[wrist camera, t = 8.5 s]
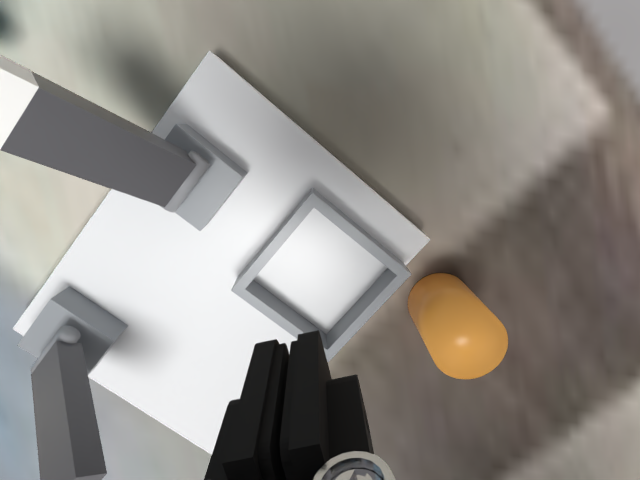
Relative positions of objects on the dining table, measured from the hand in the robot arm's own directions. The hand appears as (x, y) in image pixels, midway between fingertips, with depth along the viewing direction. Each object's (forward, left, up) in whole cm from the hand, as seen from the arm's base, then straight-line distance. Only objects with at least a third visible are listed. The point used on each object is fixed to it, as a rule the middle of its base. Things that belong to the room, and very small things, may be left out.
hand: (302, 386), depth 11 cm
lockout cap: (-11, -2, -18) cm, 21 cm away
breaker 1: (+7, +1, -13) cm, 15 cm away
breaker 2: (+7, +14, -13) cm, 20 cm away
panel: (+2, +6, -18) cm, 19 cm away
